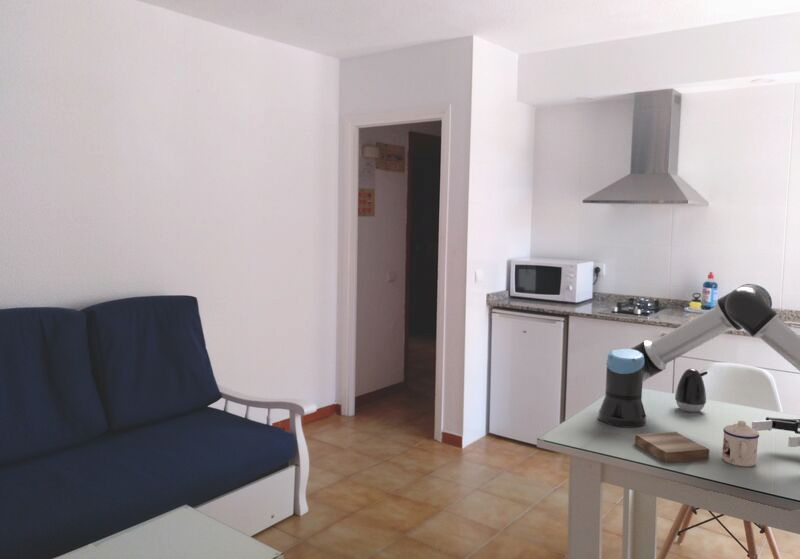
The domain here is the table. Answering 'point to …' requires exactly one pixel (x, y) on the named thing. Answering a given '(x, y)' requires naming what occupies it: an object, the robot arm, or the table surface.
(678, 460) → the walnut stand
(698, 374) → the pump dispenser
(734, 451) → the teacup with lid
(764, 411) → the table surface
